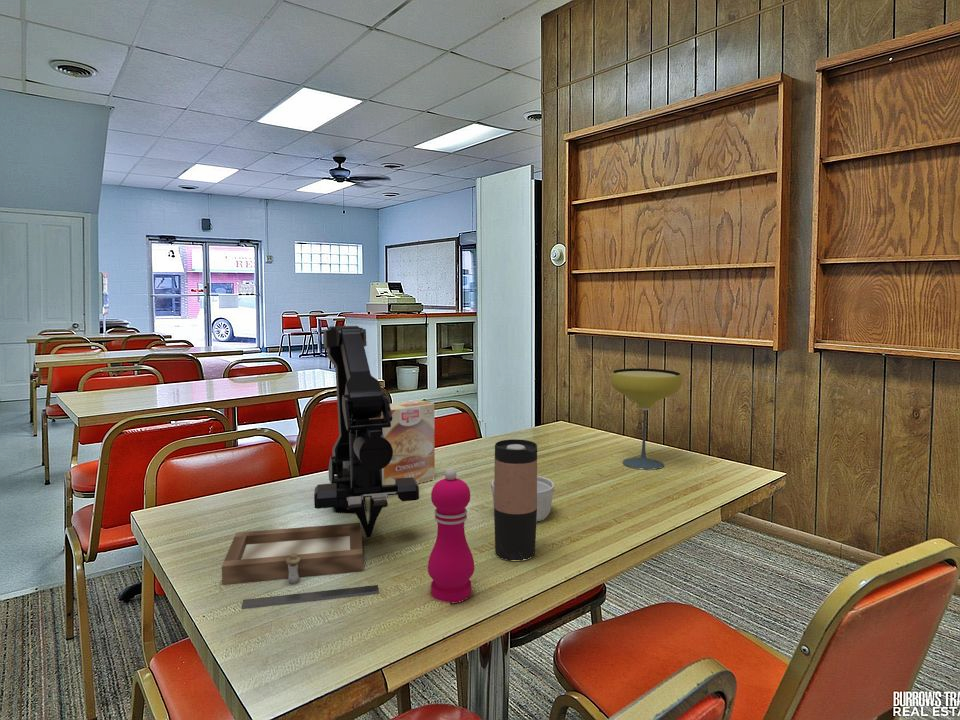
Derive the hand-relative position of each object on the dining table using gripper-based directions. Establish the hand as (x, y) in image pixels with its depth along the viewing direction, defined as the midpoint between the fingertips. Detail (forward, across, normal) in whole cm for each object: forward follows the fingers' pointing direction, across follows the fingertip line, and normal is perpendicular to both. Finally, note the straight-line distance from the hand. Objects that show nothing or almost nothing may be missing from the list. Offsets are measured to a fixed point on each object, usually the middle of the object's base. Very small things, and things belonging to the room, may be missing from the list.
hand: (368, 536), depth 115 cm
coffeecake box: (+2, -10, -34) cm, 36 cm away
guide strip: (+1, +9, +20) cm, 22 cm away
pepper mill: (+2, -12, +22) cm, 25 cm away
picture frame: (+1, +12, +7) cm, 14 cm away
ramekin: (+2, -32, -8) cm, 33 cm away
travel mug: (+2, -26, +10) cm, 28 cm away
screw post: (+1, +12, +14) cm, 19 cm away
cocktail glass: (+2, -75, -36) cm, 83 cm away
